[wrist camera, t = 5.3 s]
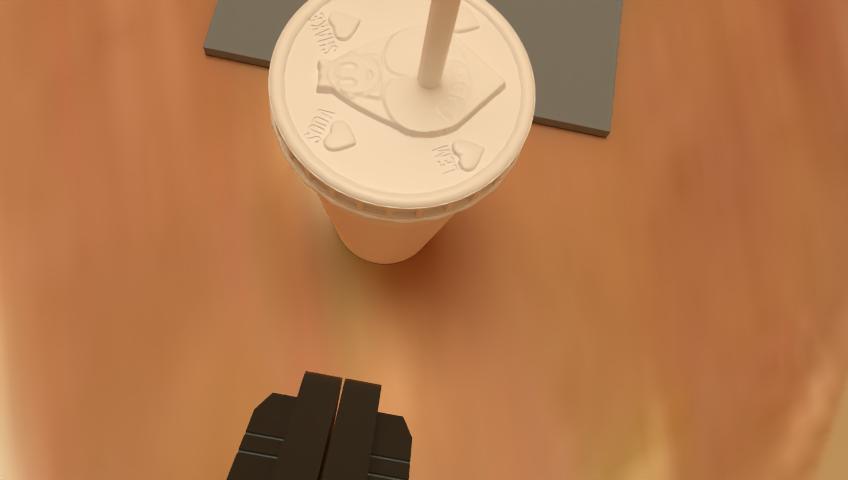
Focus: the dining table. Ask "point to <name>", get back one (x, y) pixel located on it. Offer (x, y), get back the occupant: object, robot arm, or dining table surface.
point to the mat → (526, 13)
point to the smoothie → (399, 113)
